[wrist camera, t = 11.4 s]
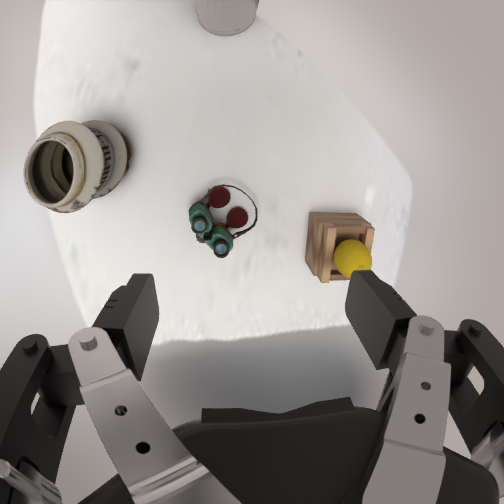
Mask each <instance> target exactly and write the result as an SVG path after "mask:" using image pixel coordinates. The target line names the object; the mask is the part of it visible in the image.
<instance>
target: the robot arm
mask: <svg viewBox="0 0 504 504" xmlns="http://www.w3.org/2000/svg"><path fill="white" fill-rule="evenodd" d="M193 1H194V4H195V8H196V12H197V15H198V19H199V22H200V24H201V25H202V26H203V28H204V29H206V30H207V31H208V32H211V33H213V34H216V35H222V36H229V35H235V34H238V33H241V32H243V31H244V30H246V29H247V28H248V27H249V26H250V25H251V24H252V23H253V21H254V18H255V15H256V11H257V7H258V3H259V0H193ZM345 312H346V316H347V318H348V320H349V321H350V323H351V325H352V327H353V328H354V330H355V332H356V334H357V335H358V337H359V339H360V341H361V342H362V344H363V346H364V348H365V350H366V351H367V353H368V355H369V357H370V359H371V360H372V362H373V364H374V366H375V368H376V370H380V369H385V368H389V370H390V371H389V373H388V375H387V378H386V382H385V384H384V387H383V391H382V394H381V397H380V400H379V403H378V405H377V408H376V410H373V409H369V408H364V407H356V406H353V404H352V401H351V399H350V397H345V398H339V399H333V400H327V401H319V402H315V403H312V404H309V405H306V406H303V407H300V408H297V409H294V410H291V411H288V412H285V413H280V414H277V413H268V412H261V411H254V410H248V409H242V408H230V409H229V408H224V409H213V408H212V409H211V408H210V409H209V408H206V409H205V408H202V417H201V419H198V420H193V421H190V422H186V423H184V424H182V425H179V426H177V427H175V428H173V429H171V428H170V427H169V426H168V425H167V423H166V422H165V420H164V419H163V418H162V416H161V415H160V414H159V412H158V411H157V409H156V408H155V407H154V405H153V404H152V402H151V401H150V399H149V398H148V396H147V395H146V393H145V392H144V390H143V389H142V387H141V386H140V384H139V383H138V381H141V378H142V374H143V371H144V367H145V364H146V360H147V357H148V354H149V350H150V347H151V344H152V340H153V337H154V334H155V331H156V328H157V325H158V321H159V306H158V300H157V295H156V289H155V282H154V277H153V275H152V274H133V275H132V277H131V278H130V280H129V282H128V283H127V285H126V286H120V287H119V288H118V289H116V290H115V291H114V292H113V293H112V294H111V296H110V297H109V299H108V301H107V302H106V304H105V305H104V308H103V309H102V310H101V312H100V314H99V315H98V317H97V319H96V320H95V322H94V324H93V325H92V327H89V328H85V329H82V330H80V331H78V332H76V333H75V334H74V335H73V336H72V337H71V338H70V340H69V343H68V344H66V345H58V346H50V345H49V343H48V341H47V339H46V338H45V337H44V336H43V335H39V334H32V335H29V336H26V337H24V338H23V339H21V340H20V341H19V342H18V343H17V344H16V346H15V347H14V349H13V351H12V352H11V354H10V355H9V357H8V358H7V360H6V362H5V363H4V365H3V367H2V368H1V370H0V504H63V503H62V498H61V494H60V492H59V490H58V489H57V487H56V486H55V481H56V477H57V472H58V468H59V464H60V459H61V456H62V452H63V448H64V444H65V441H66V437H67V433H68V430H69V427H70V424H71V420H72V417H73V414H74V411H75V408H76V405H83V404H85V405H86V407H87V410H88V412H89V414H90V417H91V419H92V421H93V423H94V426H95V428H96V430H97V432H98V435H99V437H100V439H101V441H102V443H103V445H104V447H105V449H106V451H107V453H108V455H109V457H110V458H111V460H112V462H113V464H114V466H115V468H116V469H117V471H118V474H116V475H115V476H114V477H113V478H111V479H110V480H109V481H107V482H106V483H105V484H103V485H102V486H101V487H100V488H98V489H97V490H96V491H94V492H93V493H92V494H90V495H89V496H88V497H86V498H85V499H83V500H82V501H81V502H80V503H78V504H499V498H501V497H503V496H504V348H503V346H502V345H501V344H500V343H499V342H498V340H497V339H496V338H495V337H494V336H493V335H492V334H491V332H490V331H489V330H488V329H487V328H486V327H485V326H484V325H482V324H481V323H480V322H478V321H475V320H471V319H466V320H463V321H462V322H461V324H460V326H459V328H458V330H457V331H449V330H444V328H443V326H442V325H441V324H440V323H439V322H438V321H437V320H435V319H433V318H431V317H428V316H417V314H416V313H415V312H414V311H413V310H412V309H411V308H410V307H409V305H408V304H407V303H406V302H405V301H404V300H402V297H401V296H400V295H399V294H397V292H396V291H395V290H394V289H393V288H392V286H390V285H388V284H387V283H385V282H383V281H382V280H380V279H379V278H378V277H377V276H376V275H375V273H374V272H373V271H372V270H354V271H353V272H352V274H351V277H350V282H349V288H348V293H347V297H346V302H345ZM473 366H475V367H476V369H477V370H478V372H479V373H480V374H481V376H482V377H483V379H484V389H483V391H482V393H481V394H480V395H479V394H478V392H477V391H476V389H475V388H474V386H473V384H472V383H471V381H470V380H469V379H468V377H467V376H468V374H469V373H470V371H471V370H472V368H473ZM37 392H38V394H39V395H40V397H39V399H38V402H37V404H36V406H35V409H34V411H33V414H32V415H31V404H32V402H33V400H34V397H35V395H36V393H37ZM448 410H449V412H450V414H451V416H452V417H453V420H454V421H455V423H456V425H457V427H458V429H459V431H460V433H461V435H462V437H463V439H464V441H465V443H466V445H467V447H468V450H469V451H470V453H471V460H470V459H468V458H466V457H464V456H462V455H460V454H458V453H456V452H454V451H452V450H450V449H448V448H446V447H444V446H443V443H444V437H445V430H446V423H447V415H448Z"/></svg>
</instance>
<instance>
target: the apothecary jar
mask: <svg viewBox="0 0 504 504" xmlns="http://www.w3.org/2000/svg"><path fill="white" fill-rule="evenodd" d="M131 156H132V152H131V146H130V143H129V141H128V140H127V138H126V137H125V135H124V134H122V133H121V132H120V131H118V130H116V129H115V128H114V127H113V126H112V125H110V124H108V123H106V122H103V121H87V122H84V123H82V124H80V123H77V122H73V121H64V122H59V123H57V124H54V125H52V126H51V127H49V128H48V129H47V130H45V131H44V132H43V133H42V134H41V136H40V137H39V138H38V140H37V141H36V143H35V144H34V145H33V146H32V147H31V149H30V151H29V152H28V154H27V157H26V160H25V164H24V181H25V185H26V188H27V190H28V192H29V194H30V196H31V197H32V198H33V199H34V200H35V201H36V202H37V203H38V204H40V205H42V206H44V207H47V208H49V209H51V210H53V211H55V212H59V213H71V212H75V211H77V210H80V209H81V208H83V207H84V206H86V205H87V204H88V203H89V202H90V201H91V200H92V199H94V198H99V197H102V196H104V195H106V194H108V193H109V192H111V191H112V190H113V189H114V188H115V187H116V186H117V185H118V183H119V182H120V180H121V179H122V177H123V176H124V175H125V174H126V172H127V171H128V169H129V166H128V165H129V163H128V161H129V159H130V158H131Z"/></svg>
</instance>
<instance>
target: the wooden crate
mask: <svg viewBox="0 0 504 504" xmlns="http://www.w3.org/2000/svg"><path fill="white" fill-rule="evenodd" d="M374 230H375V229H374V228H373V227H372V226H371V223H369V222H368V221H366V220H365V219H364V218H362V217H361V216H359V215H358V214H352V213H319V212H309V223H308V234H307V245H306V255H305V261H306V263H307V265H308V267H309V268H310V270H311V272H312V274H313V276H318V278H319V280H320V282H321V283H329V281H333V280H350V278H347V277H345V276H344V275H342V274H341V273H340V272H339V271H338V269H337V268H336V266H335V263H334V252H335V249H336V247H337V246H338V245H339V244H340V243H341V242H343V241H345V240H349V239H354V240H357V241H360V242H361V243H363V244H364V245H365V246H366V247H367V248H368V250H369V252H370V254H371V248H372V242H373V237H374Z"/></svg>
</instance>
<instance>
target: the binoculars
mask: <svg viewBox="0 0 504 504" xmlns="http://www.w3.org/2000/svg"><path fill="white" fill-rule="evenodd" d="M221 186H227V187H234V186H230V185H219V186H215V187H213V188H212V189H211V190H210V191H208V192H207V193H208V194H206V195H205V196H204V198H203V199H202V200H201V201H198V202H196V203H195V204H193V205H192V206H191V207H190V209H189V220H190V223H191V225H192V226H191V228H192V231H193V232H194V233H196V238H197V241H199V242H200V243H206V244H207V245H208V246H209V247H210V248H211V249H213V250H214V254H215V255H216V256H217V257H219V258H224V257H226V256H227V255H228V254H229V252H230V251H231V250H232V248H233V239H235V238H237V237H239V236H240V235H242V234H245V233H246V232H247V231H249V230H251V229H252V228H253V227H254V226H255V224H256V222H257V208H256V206H255V204H254V202H253V200H252V199H251V198H250V197H249V196H248V195H247V194H246V193H245V192H243V191H242V190H240V189H238V188H236V187H234V188H236V189H238V190H240V191H242V192H243V193H244V194H246V195H247V196H248V197H249V198H250V199H251V200H252V202H253V204H254V206H255V211H256V218H255V221H254V223H253V225H252V226H250V227H249V228H248V229H246V230H243V231H240V232H236V233H235V234H233V235H232V234H231V233H230V232H229V231H228V230H227V229H228V228H229V227H231V228H241V227H243V226H244V225H245V224H246V223H247V221H248V215H247V213H246V211H245V210H243V209H241V208H234V209H232V210H231V211H230V212H229V213H228V216H227V224H225V225H224V224H222V223H213V217H212V214H211V213H210V211H209V207H210V206H212V207H214V208H222V207H224V206H226V205H227V204H228V203H229V201H230V193H229V191H228V190H227V189H225V188H224V187H221ZM209 193H210V194H209ZM207 195H208V196H209V197H208V196H207ZM207 198H208V201H209V202H208V203H207V204H204V203H203V202H204V201H205V200H206V199H207ZM212 223H213V224H212ZM236 234H237V236H236V237H235V236H234V235H236Z"/></svg>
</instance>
